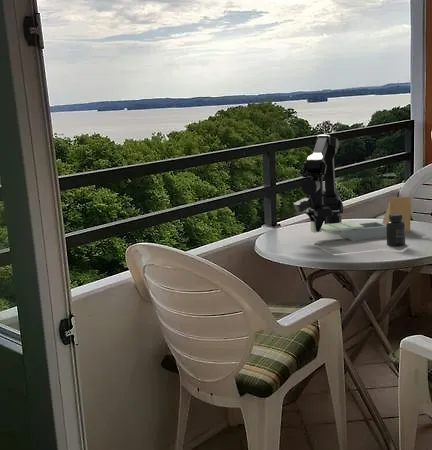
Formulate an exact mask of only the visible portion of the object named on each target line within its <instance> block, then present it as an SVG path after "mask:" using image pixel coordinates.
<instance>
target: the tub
mask: <svg viewBox="0 0 432 450" xmlns="http://www.w3.org/2000/svg"><path fill="white" fill-rule="evenodd" d="M359 224H360V225H362V226H364V228H359V229H350V230H340V237H342V238H345V239H347V240H350V241H352V242H353V241H361V240H371V239H379V238H381V239H382V238H387V235H386V225H384V224H382V223H381V222H378V221H371V222H362V223H359ZM367 227H371V228H367Z"/></svg>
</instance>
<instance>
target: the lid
mask: <svg viewBox="0 0 432 450" xmlns="http://www.w3.org/2000/svg"><path fill="white" fill-rule="evenodd" d="M359 228H364V226H362V225H360V223H357V222H354V221H346V222H340V223H334V224H324V223H323V224H322V227H321V229H320V231H319V232H317V231H316V226H315V221H311V222H310V232H311V233H313V234H315V233H321V232H322V231H323V232H325V233H328V232H341V230H350V229H359Z"/></svg>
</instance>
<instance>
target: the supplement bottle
mask: <svg viewBox="0 0 432 450" xmlns="http://www.w3.org/2000/svg"><path fill="white" fill-rule="evenodd" d="M402 219H403V218H402V214H389V220H390V221H389V222H387V224H386V235H387V237H386V246H389V247H395V248H397V247H399V248H400V247H405V246H406V232H405V223H404V222H403V221H402Z"/></svg>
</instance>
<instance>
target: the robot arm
mask: <svg viewBox="0 0 432 450" xmlns="http://www.w3.org/2000/svg"><path fill="white" fill-rule="evenodd" d="M339 145H340V143H339V139H338V137H335V136H331V135H329V134H319V135H317V136H316V139H315V146H314V148H313V151H312V154H310V155H308V156H307V158H306V160H305V161H304V162H303V163H304V164H303V172H302V178H306V180H304V181H303V182H302V184H301V191H302V193H303V194H305V197H304V198H302V199H300V200H297V201H295V202H293V207H294V209H295V212H298V213H302V212H303V213H304V214H305V215H307V216H308V218H309V222H310V223H311V221H315V226H316V231H317V232H316V233H320V232H319V231H320V229H321V227H322V225H324V224H334V223H340V222H342V214H344V212H345V211H344V203H343V201H342V199H341V195H340V193H339V192H338V190H337V187H336V172H335V169H336V168H335V155H336V154H337V152H338V149H339ZM323 178H324V179H323ZM323 181H324V183H323ZM323 184H324V185H323ZM342 223H343V222H342Z"/></svg>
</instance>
